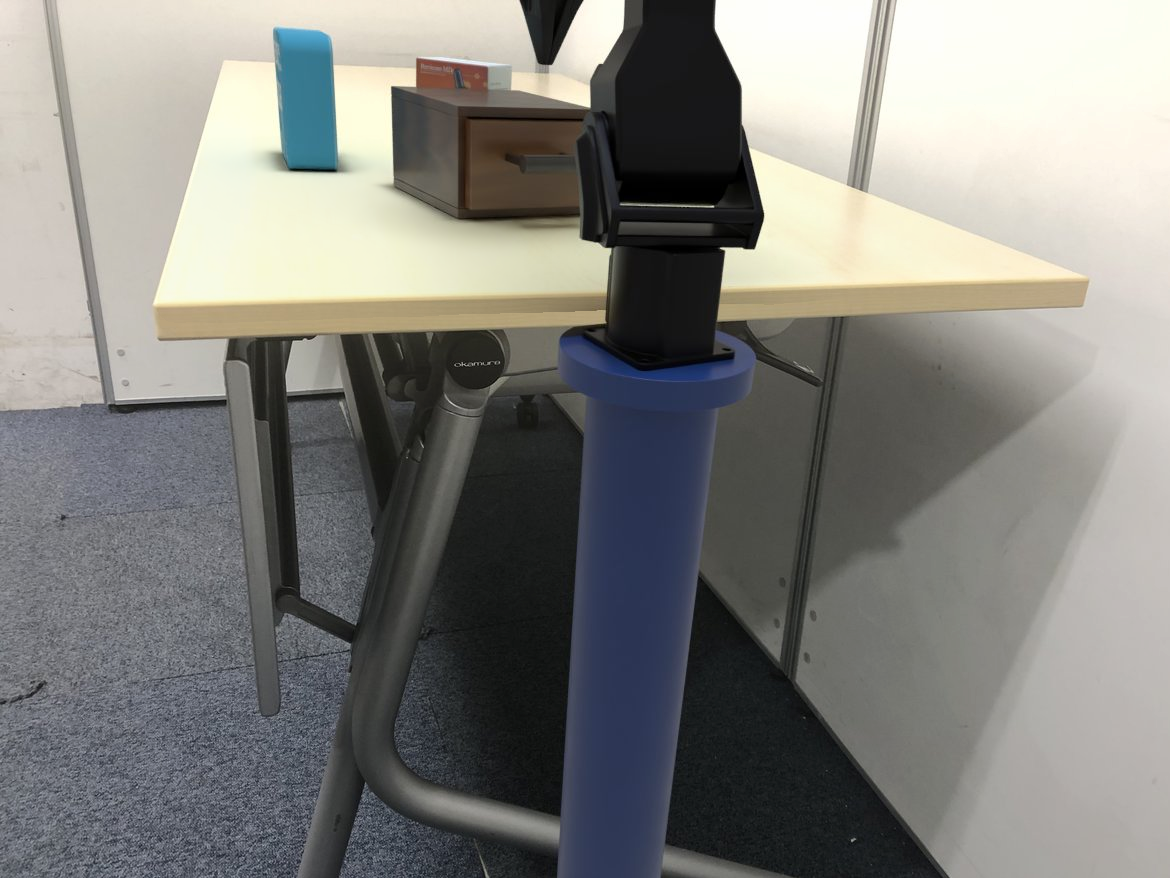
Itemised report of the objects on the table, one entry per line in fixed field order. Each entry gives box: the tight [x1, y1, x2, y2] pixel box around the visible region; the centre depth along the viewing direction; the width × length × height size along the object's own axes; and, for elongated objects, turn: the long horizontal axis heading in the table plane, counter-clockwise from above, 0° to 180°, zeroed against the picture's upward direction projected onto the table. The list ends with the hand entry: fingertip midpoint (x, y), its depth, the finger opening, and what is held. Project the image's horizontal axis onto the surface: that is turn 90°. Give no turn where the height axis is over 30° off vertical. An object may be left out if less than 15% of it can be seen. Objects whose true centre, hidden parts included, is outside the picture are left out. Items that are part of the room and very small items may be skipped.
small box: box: [415, 56, 513, 90], centre depth 99 cm, size 8×6×10 cm
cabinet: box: [390, 85, 590, 219], centre depth 86 cm, size 15×13×9 cm
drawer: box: [465, 117, 583, 210], centre depth 83 cm, size 18×11×7 cm, turn 33°
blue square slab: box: [272, 26, 339, 171], centre depth 96 cm, size 12×4×12 cm, turn 21°
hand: (545, 64), depth 76 cm, fingers closed
